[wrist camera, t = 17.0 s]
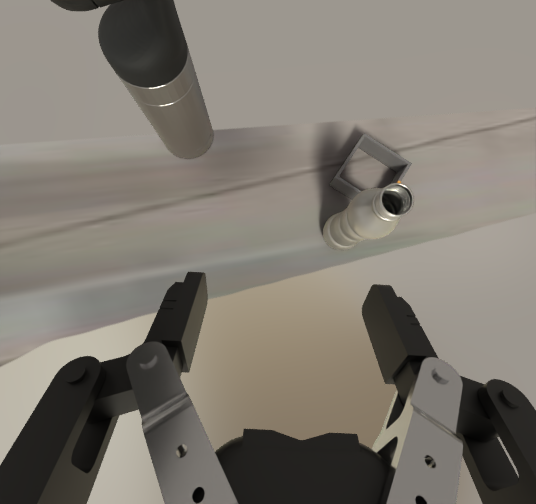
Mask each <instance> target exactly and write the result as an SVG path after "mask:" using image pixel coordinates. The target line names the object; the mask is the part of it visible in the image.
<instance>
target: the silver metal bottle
mask: <svg viewBox="0 0 536 504" xmlns="http://www.w3.org/2000/svg"><path fill="white" fill-rule="evenodd" d="M413 203H414V197H413V194H412V191H411V190H410V189H409V188H408V187H407V186H406V185H404V184H401V183H393V184H390V185H387V186H386V187H385V188H371V189H366V190H364V191H361V192H360V193H358V194H357V195H356V196H355V197H354V198H353V199H352V201H351V202H350V204H349V205H348V207H347V208H346V209H345V210H344V211H343V212H340V213H337V214H335V215H333V216H331V217H330V218H329V219H328V220H327V222H326V223H325V226H324V228H323V238H324V240H325V242H326V243H327V245H328V246H329V247H331V248H333V249H336V250H348V249H350V248H352V247H353V246H355V245H356V244H357V243H358V242H360V241H362V240H368V239H378V238H382V237H384V236H387V235H388V234H389V233H391V232H392V231H393V229H394V228H395V227H396V226H397V224H398V222H399V220H400V218H401V217H402V216H404V215H405V214H407V213H408V212H409V211H410V210H411V208H412V207H413Z"/></svg>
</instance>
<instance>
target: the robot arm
mask: <svg viewBox="0 0 536 504" xmlns="http://www.w3.org/2000/svg"><path fill="white" fill-rule="evenodd" d="M51 1H52V2H54V3H55V4H57V5H58V6H60V7H62V8H64V9H66V10H70V11H89V10H93V9H96V8H98V7H103V6H107V5H110V4H111V5H110V6H109V7H108V8H107V9H106V11H105V12H104V14H103V16H102V18H101V21H100V24H99V31H98V35H99V36H98V37H99V43H100V46H101V49H102V51H103V54H104V55H105V57H106V59H107V61H108V62H109V64H110V65H111V66H112V68H113V69H114V71H115V72H116V74H117V75H118V76H119V78H120V80H121V81H122V82H123V84H124V85H125V87H126V88H127V90H128V91H129V93H130V94H131V95H132V97H133V98H134V100H135V101H136V103H137V104H138V106H139V107H140V109H141V110H142V111H143V113H144V114H145V116H146V117H147V119H148V120H149V122H150V123H151V125H152V126H153V128H154V129H155V130H156V132H157V134H158V135H159V137H160V138H161V140H162V141H163V143H164V144H165V146H166V147H167V148H168V150H169V151H170V152H171V153H173V154H174V155H176V156H178V157H180V158H185V159H191V158H196V157H198V156H201V155H202V154H204V153H205V152H206V151H207V150H208V149H209V147H210V146H211V144H212V141H213V130H212V126H211V123H210V120H209V116H208V113H207V109H206V106H205V103H204V99H203V96H202V93H201V89H200V86H199V83H198V79H197V76H196V73H195V70H194V66H193V63H192V60H191V57H190V53H189V50H188V46H187V43H186V40H185V37H184V33H183V31H182V28H181V24H180V21H179V18H178V15H177V11H176V8H175V5H174V1H173V0H51ZM207 299H208V294H207V285H206V276H205V273H201V272H188V273H187V275H186V278H185V280H184V283H182V282H175V283H174V284H173V285H172V286H171V287H170V288H169V289H168V290H167V293H166V295H165V297H164V299H163V302H162V304H161V306H160V309H159V310H158V313H157V315H156V317H155V319H154V322H153V324H152V326H151V328H150V331H149V333H148V335H147V338H146V339H145V341H144V343H143V344H142V345H140V346H138V347H137V348H135V349H134V350H133V351H132V353H131V354H129V355H126V356H124V357H120V358H116V359H112V360H108V361H104V362H99V360H97V359H96V358H94V357H91V356H84V357H79V358H77V359H74V360H72V361H70V362H69V363H67V364H66V365H65V366H63V367H62V368H61V369H60V370H59V371H58V373H57V374H56V375H55V377H54V379H53V380H52V382H51V383H50V385H49V387H48V389H47V390H46V392H45V393H44V395H43V397H42V398H41V400H40V401H39V403H38V405H37V406H36V408H35V410H34V411H33V413H32V415H31V416H30V418H29V419H28V421H27V423H26V424H25V426H24V428H23V429H22V431H21V432H20V434H19V436H18V438H17V439H16V441H15V442H14V444H13V446H12V448H11V449H10V451H9V452H8V454H7V455H6V457H5V459H4V460H3V462H2V464H1V465H0V504H86V503H87V501H88V498H89V496H90V493H91V490H92V488H93V485H94V482H95V479H96V477H97V474H98V471H99V469H100V466H101V463H102V460H103V458H104V455H105V452H106V449H107V447H108V444H109V442H110V439H111V436H112V433H113V431H114V428H115V425H116V423H117V420H118V417H119V415H122V414H125V413H128V412H132V411H135V410H138V409H139V411H140V414H141V418H142V428H143V432H144V436H145V439H146V443H147V446H148V449H149V453H150V456H151V459H152V463H153V466H154V469H155V472H156V476H157V479H158V482H159V486H160V489H161V493H162V496H163V499H164V502H165V504H456V500H457V492H458V485H459V477H460V468H461V461H462V456H463V458H464V460H465V463H466V465H467V467H468V470H469V472H470V475H471V477H472V479H473V481H474V484H475V486H476V489H477V491H478V494H479V496H480V498H481V501H482V503H483V504H536V410H535V409H534V407H533V406H532V405H531V403H530V402H529V400H528V399H527V398H526V397H525V395H524V394H523V393H522V392H521V391H519V390H518V389H517V388H515V387H514V386H512V385H511V384H509V383H507V382H505V381H502V380H497V379H493V380H490V381H488V382H487V383H486V384H482V383H479V382H476V381H473V380H470V379H467V378H465V377H462V376H460V375H459V374H458V373H457V371H456V370H455V369H454V368H453V367H452V366H451V365H449V364H448V363H447V362H445V361H443V360H441V359H439V358H438V357H437V355H436V353H435V351H434V349H433V347H432V346H431V344H430V342H429V340H428V338H427V336H426V335H425V333H424V331H423V329H422V327H421V326H420V323H419V321H418V320H417V318H415V314H414V312H413V311H412V308H411V307H410V305H409V304H408V303H407V302H406V301H405V300H404V299H403V298H402V297H397V296H396V294H395V292H394V290H393V288H392V287H391V286H390V285H372V287H371V289H370V291H369V293H368V295H367V297H366V300H365V301H364V304H363V307H362V316H363V319H364V322H365V325H366V328H367V331H368V334H369V337H370V340H371V343H372V346H373V349H374V352H375V355H376V358H377V361H378V364H379V367H380V370H381V373H382V376H383V379H384V382H385V384H395V385H396V388H397V391H396V393H395V395H394V397H393V400H392V403H391V406H390V409H389V411H388V414H387V417H386V420H385V422H384V425H383V428H382V431H381V433H380V435H379V437H378V438H377V440H376V441H375V443H374V445H373V447H372V449H370V448H369V447H367V446H365V445H363V444H361V443H359V441H358V436H357V434H344V433H327V434H324V435H320V436H317V437H313V438H310V439H306V440H298V439H295V438H292V437H289V436H286V435H284V434H281V433H278V432H276V431H273V430H257V429H244V432H243V436H242V437H238V438H235V439H233V440H231V441H229V442H227V443H226V444H224V445H223V446H221V447H220V448H219V449H218V450H217V451H216V452H214V449H213V448H212V445H211V443H210V441H209V438H208V436H207V434H206V432H205V430H204V427H203V425H202V423H201V421H200V419H199V416H198V415H197V412H196V410H195V408H194V405H193V403H192V401H191V399H190V397H189V395H188V394H187V393H186V391H185V388H184V386H183V384H182V382H181V380H180V376H181V373H182V372H189V371H190V367H191V363H192V359H193V356H194V352H195V348H196V345H197V341H198V337H199V333H200V329H201V325H202V322H203V318H204V314H205V310H206V306H207ZM497 437H500V439H501V440H502V442H503V444H504V446H505V448H506V450H507V452H508V453H509V455H510V457H511V459H512V460H513V463H514V465H515V466H516V468H517V471H518V474H519V478H518V476H517V474H516V472H515V470H514V468H513V466H512V465H511V463H510V461H509V459H508V457H507V455H506V453H505V451H504V449H503V448H502V446H501V444H500V442H499V440H498V438H497Z"/></svg>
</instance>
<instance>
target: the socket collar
mask: <svg viewBox="0 0 536 504" xmlns="http://www.w3.org/2000/svg"><path fill="white" fill-rule="evenodd" d="M357 148H360V149H361V150H363V151H364V152H366V153H367V154H369V155H371V156H372V157H374V158H375V159H377V160H378V161H380V162H381V163H383V164H385V165H386V166H388V167H389V168H391V169H392V170H394V171H395V172H397V174H396V175H395V177H394V179H393V180H392V182H391V183H390V184H393V183H401V180H402V179H403V177H404V175H405V174H406V172H407V170H408V169H409V167H410V166H411V164H412V163H410V162H409V161H407V160H406V159H404V158H402V157H401V156H399V155H398V154H396V153H395V152H393V151H392V150H390V149H388V148H387V147H385V146H384V145H382V144H381V143H379V142H377V141H376V140H374V139H373V138H371V137H370V136H368V135H367V134H365V133H364V134H363V135H362V137H361V138H360V140H359V141H358V142H357V144H356V145H355V147H354V148H353V150H352V151H351V153H350V154H349V156H348V157H347V159H346V160H345V162H344V163H343V165H342V166H341V168H340V169H339V171H338V172H337V174H336V175H335V177H334V178H333V180H332V181H331V183H330V184H329V185H330V186H332V187H333V188H335V189H336V190H338V191H339V192H341V193H342V194H344V195H345V196H347V197H349V198H350V199H353V198H354V197H355V196H356V195H357V194H358V193H360V192H361V191H360V190H359V189H357V188H356V187H354V186H352V185H351V184H349V183H348V182H346V181H345V180H343V179H342V178H340V177H339V175H340V174H341V172H342V171H343V169H344V168H345V166H346V165H347V163H348V162H349V160H350V159H351V157H352V156H353V154H354V153H355V151H356V150H357Z"/></svg>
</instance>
